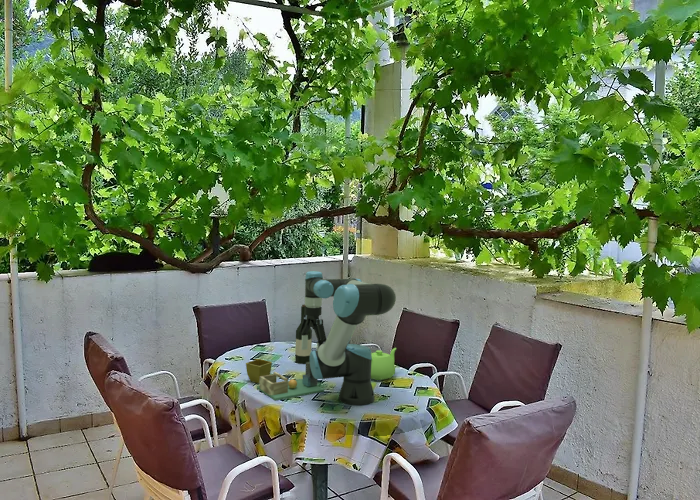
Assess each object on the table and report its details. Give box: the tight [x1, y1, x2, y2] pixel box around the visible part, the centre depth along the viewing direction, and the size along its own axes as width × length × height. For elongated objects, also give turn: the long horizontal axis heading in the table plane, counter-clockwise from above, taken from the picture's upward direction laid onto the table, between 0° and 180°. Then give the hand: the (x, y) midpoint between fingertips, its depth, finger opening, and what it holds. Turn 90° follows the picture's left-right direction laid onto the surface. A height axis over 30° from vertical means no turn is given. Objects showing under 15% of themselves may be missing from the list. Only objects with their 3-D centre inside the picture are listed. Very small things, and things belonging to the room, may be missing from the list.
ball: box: [288, 378, 297, 389], centre depth 261 cm, size 4×4×4 cm
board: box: [256, 378, 325, 402], centre depth 262 cm, size 18×24×1 cm
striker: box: [302, 362, 319, 387], centre depth 266 cm, size 5×5×10 cm
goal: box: [258, 371, 289, 395], centre depth 258 cm, size 12×8×6 cm, turn 34°
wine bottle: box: [294, 303, 313, 365], centre depth 306 cm, size 8×8×30 cm
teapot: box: [371, 347, 397, 381], centre depth 285 cm, size 22×15×13 cm
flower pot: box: [245, 358, 273, 384], centre depth 273 cm, size 9×9×9 cm
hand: (311, 353), depth 266 cm, fingers open, 13 cm apart
